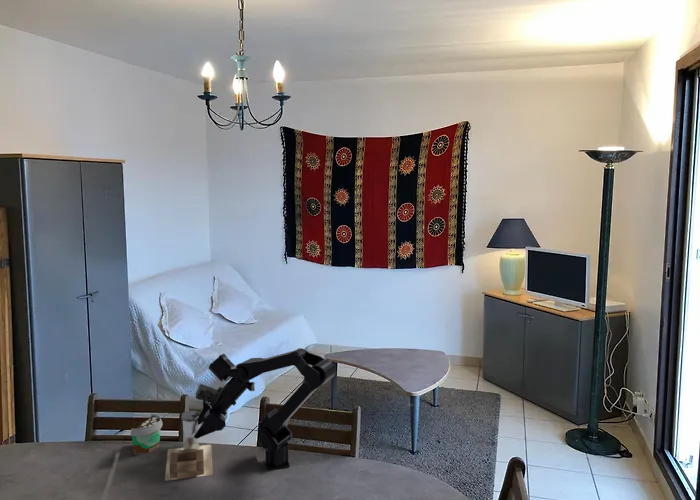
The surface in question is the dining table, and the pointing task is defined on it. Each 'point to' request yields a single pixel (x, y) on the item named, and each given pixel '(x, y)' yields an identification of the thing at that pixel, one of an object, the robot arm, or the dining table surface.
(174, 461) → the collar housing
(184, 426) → the silver tapered cylinder
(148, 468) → the dining table surface
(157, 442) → the food container
